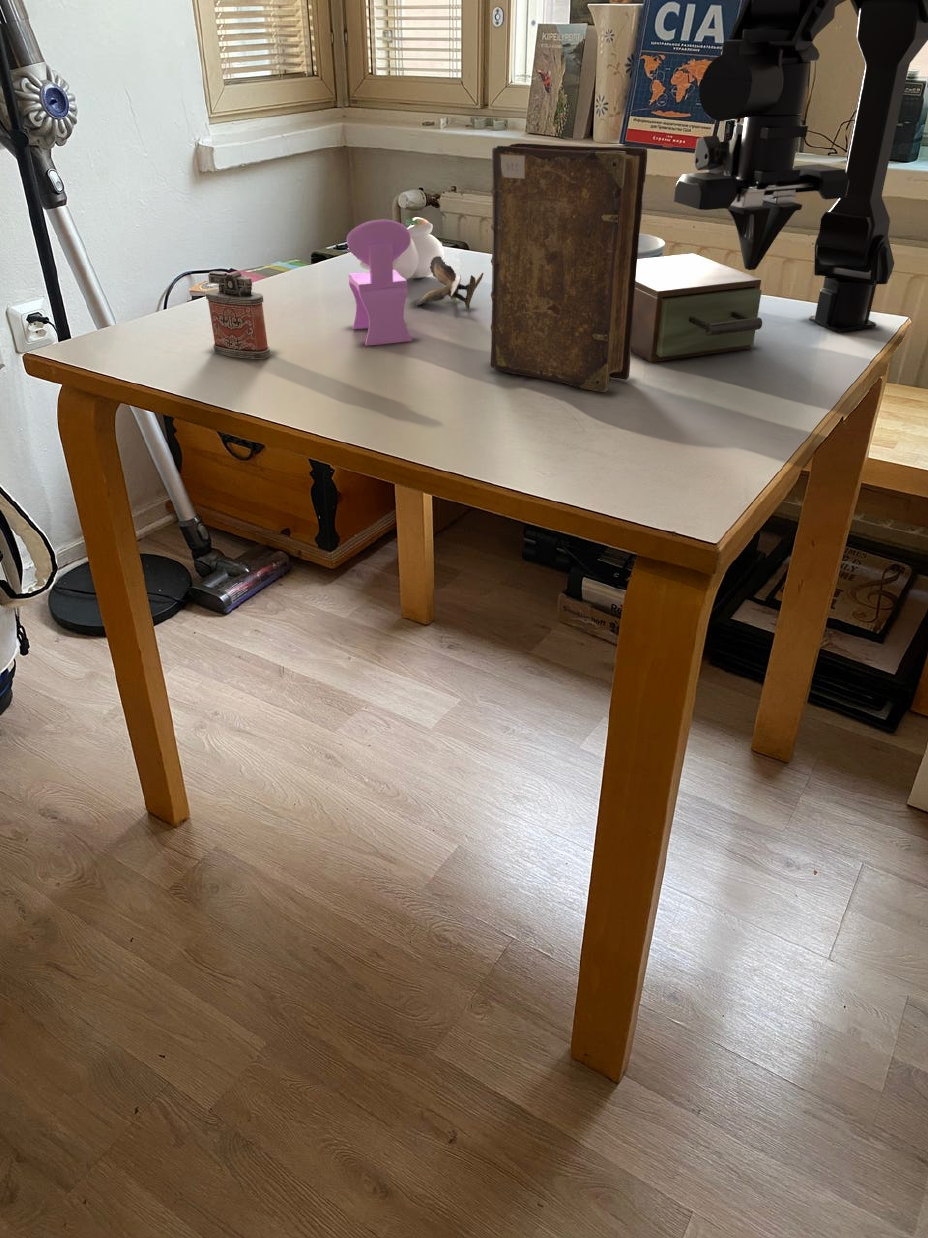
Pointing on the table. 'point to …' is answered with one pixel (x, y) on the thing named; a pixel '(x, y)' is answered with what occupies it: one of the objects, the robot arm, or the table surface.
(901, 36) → the robot arm
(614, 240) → the book
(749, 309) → the drawer
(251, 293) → the lighter
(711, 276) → the cabinet
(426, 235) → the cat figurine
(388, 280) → the toy chair
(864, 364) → the table surface
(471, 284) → the eagle figurine
